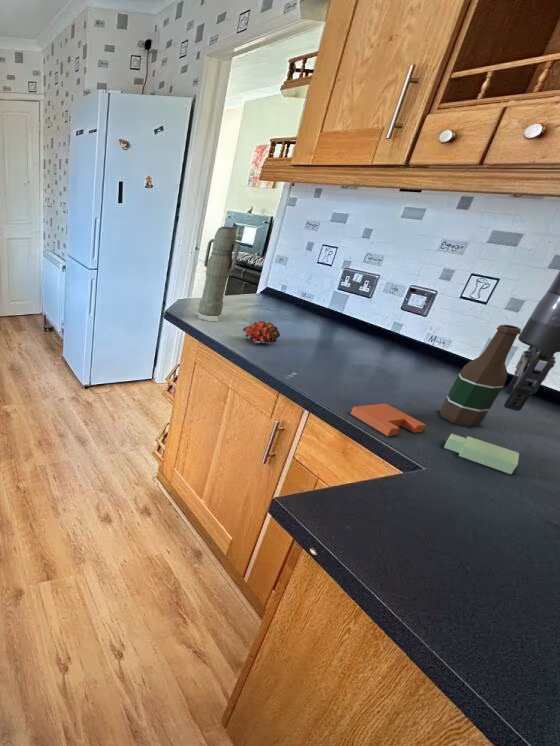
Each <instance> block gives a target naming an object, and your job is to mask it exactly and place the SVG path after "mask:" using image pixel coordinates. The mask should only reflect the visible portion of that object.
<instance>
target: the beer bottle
mask: <svg viewBox="0 0 560 746" xmlns="http://www.w3.org/2000/svg"><path fill="white" fill-rule="evenodd" d="M496 330H497V331H496V332H495V333H494V335H493V337H492V338H491V339H490V341H489V343H488V344H487V346H486V348H484V350H483V351H482V353H481V354H480V355H479V356H478V357H476V358H474V359H472V360H470V361H469V362H467V363H466V364H465V365H464V366H463V367H462V368H461V370H460V371H459V373H458V375H457V377H456V379H455V381H454V382H453V384H452V386H451V388H450V390H449V392H448V394H447V396H446V397H445V399H444V401H443V403H442V405H441V407H440V410H439V414H440V417H441V418H443V419H444V420H446V421H448V422H450V423H452V424H455V425H459V426H462V427H463V426H464V427H467V428H473V427H478V426H480V425H481V423H482V422H484V421H483V420H484V419H485V418H486V416H487V414H488V413H489V411H490V409H491V408H492V406H493V404H494V403H495V401H496V399H497V398H498V396H499V394H500V393H501V391H502V389H503V387H504V386H505V383H506V382H507V379H508V370H507V367H506V361H507V357H508V355H509V353H510V351H511V349H512V346H513V345H514V342H515V340H516V338H517V336H519V335H520V333H521V332H522V329H521V328H520V327H518V326H515V325H510V324H500V325H498V327H496Z"/></svg>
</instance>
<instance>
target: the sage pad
mask: <svg viewBox="0 0 560 746" xmlns="http://www.w3.org/2000/svg"><path fill="white" fill-rule="evenodd" d="M443 448H444V449H446V450H449V451H452V452H454V453H458V457H460V458H463V459H466V460H469V461H472V462H473V463H476V464H477V463H478V464H480V465H483V466H486V467H488V468H492V469H494V470H498V471H500V472H503V473H506V474H509V475H512V474H513V473H514V471H515V470H516V468H518V466H519V460H520V459H519V457H520V452H518V451H515V450H511V449H508V448H505V447H502V446H499V445H496V444H493V443H490V442H486V441H484V440H481V439H478V438H475V437H472V436H470V435H469V436H468V435H467V437H463V436H461V435H457V434H454V433H450V435H449V437H448V438H447V440H446V442H445V444H444V447H443Z"/></svg>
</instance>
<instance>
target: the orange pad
mask: <svg viewBox="0 0 560 746" xmlns="http://www.w3.org/2000/svg"><path fill="white" fill-rule="evenodd" d="M350 415H352V416H353V417H355V418H357V419H358V420H360V421H362V422H363V423H365V424H367V425H368V426H370V427H372V428H373V429H375V430H376V431H378V432H380V433H381V434H382V435H385V436H386V437H392V436H397V435H398V432H399V431H400V427H402V428H405V429H406V430H408V431H409V432H412V433H414V434H415V433H416V434H417V433H422V432H423V431H424V429H425V427H426V424H425V423H423V422H421V421H420V420H418V419H416V418H415V417H412V416H410V415H409V414H406V413H405V412H403V411H401V410H399V409H398V408H396V407H393V406H391V405H390V404H389V403H378V404H377V403H375V404H368V405H357V406H352V409H351V411H350Z"/></svg>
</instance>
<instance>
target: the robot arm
mask: <svg viewBox="0 0 560 746" xmlns="http://www.w3.org/2000/svg"><path fill="white" fill-rule="evenodd" d="M517 339H518V341H519V342H520V343H522V344H525V345H526V346H529V347H528V348H527V349H526V350H523V352H522V354H521V355H520V359H519V361H518V362H517V364H516V366H515V371H514V376H513V377H512V379H511V381H510V382H509V384H508V386H507V387H506V389H505V393H506V394H507V395H508V397H507V399H506V400H505V401H504V404H503V406H504V408H505V409H508V410H513V411H516V412H519V411H521V410H522V409H523V408H524V405H525V404H526V402H527V401H528V399H529V398H530V396H531V395H535V394H536V393H538V391H539V388H540V386H541V385H542V383H543V382H544V381H545V380H546V379H547V376H548V374H549V372H550V371H551V370H552V369H553V368H554V367H555V365H556V363H557V360H556V356H555V354H556V353H560V270H559V271H558V273H557V274H556V275H555V277H554V279H553V280H552V281H551V284H550V285H549V287H548V288H547V290H546V292H545V294H544V295H543V296H542V297H541V299H539V302H538V303H537V304H536V306H535V308H534V310H533V311H532V313H531V315H530V316H529V318H528V319H527V321H526V324H524V326H523V329H521V332H520V334H518V337H517ZM530 382H531V383H532V385H529V384H530Z"/></svg>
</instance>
